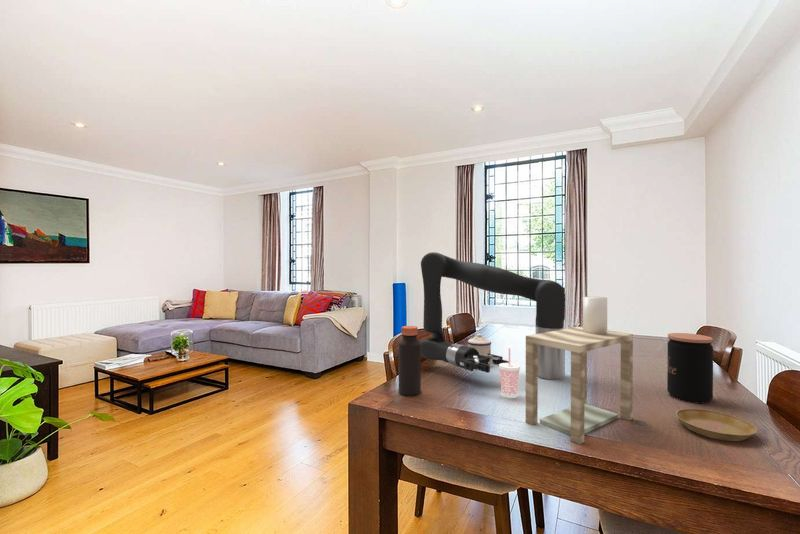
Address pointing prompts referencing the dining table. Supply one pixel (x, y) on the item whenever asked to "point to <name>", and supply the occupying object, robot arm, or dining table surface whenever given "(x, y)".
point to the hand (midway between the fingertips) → (498, 367)
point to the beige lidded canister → (480, 344)
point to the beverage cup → (509, 379)
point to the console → (578, 380)
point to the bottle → (409, 362)
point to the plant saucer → (735, 426)
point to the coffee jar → (690, 367)
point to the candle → (595, 315)
